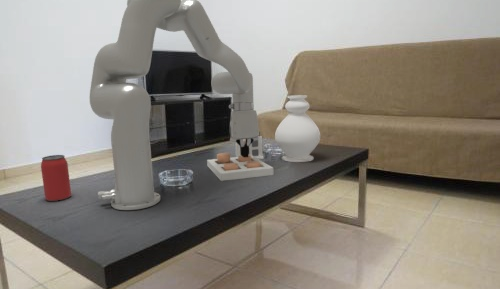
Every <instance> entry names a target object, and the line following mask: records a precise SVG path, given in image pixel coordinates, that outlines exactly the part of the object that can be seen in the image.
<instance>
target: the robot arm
mask: <svg viewBox="0 0 500 289" xmlns="http://www.w3.org/2000/svg"><path fill="white" fill-rule="evenodd" d="M121 19H122V20H121V24H120V28H119V33H118V38H117V41H116V42H113V43H109V44H105V45H103V46H102V47H101V48H100V49H99V50H98V52H97V54H96V56H95V58H94V63H93V67H92V68H93V69H92V75H91V82H90V87H89V88H90V90H89V105H90V108H91V110H92V112H93V113H94V114H95V115H97V116H98V117H99V118H101V119H105V120H113V122H112V127H111V132H110V139H111V140H110V143H111V152H112V160H113V162H112V163H113V164H112V165H113V173H114V183H115V185H114V188H111V189H110V190H99V191H97V196H98V199H102V201H107V200H110V205H111V207H112V208H113V209H115V210H118V211H119V210H120V211H137V210H141V209H146V208H150V207H153V206H156V205H157V204H158V203H159V202H160V201H161V194H159V193H158V192H155V188H154V186H155V185H154V177H153V174H154V173H153V163H152V150H151V141H150V117H151V116H150V115H151V110H152V109H151V105H152V104H151V103H152V102H151V97H150V95H149V93H148V91H147V90H146V89H145V88H144V87H143V86H142V85H140V84H137V83H133V82H127V80H130V79H132V80H134V79H141V78H144V77H145V76H146V75H148V73H149V72H150V68H151V63H152V55H153V49H154V48H153V47H154V41H155V36H156V31H157V29H160V30H163V31H167V32H173V33H174V32H181V31H183V32H184V34H185V35H186V37H187V39H188V40H189V42H190V44H191V45H192V48H193V49H194V50H195V52H196V53H195V54H197V55H198V56H199V57H201V58H203V59H205V60H208V61H210V62H212V63H215V64H217V65H219V66H221V67H222V68H224V69H225V70H226V71H221V72H218V73H216V74H214V75H213V76H212V78H211V82H210V83H211V85H210V86H211V88H212V90H213V91H214V92H215V93H217V94H219V95H232V102H231V104H229V105H228V108H229V109H232V110H231V112H230V119H229V120H230V121H229V135H230V139H229V142H231V143H237V144H239V145H240V153H241V155H242V156H243V157H248V154H249V146H250V144H251V143H252V142H253V141H255V140H258V139H259V138H258V136H259V132H260V127H259V119H258V118H259V117H258V113H257V110H255V107H254V77H253V74H252V73H251V72H250V71H249V69H248V67H247V64H246V63H245V61H244V60H243V58H242V57H241V56H240V55H239V54H238V53H237V52H235V50H233V49H232V48H231V47H229V46H228V45H227V44H226V43H224V42H223V41H222V40H221V39H220V37H219V35H218V33H217V30H216V29H215V28H214V25H213V24H212V22H211V20H210V18H209V16H208V14H207V11H206V10H205V8H204V6H203V5H202V3H201V2H200V1H199V0H127V2H126V8H125V10H124V12H123V16H122V18H121ZM243 139H245V145H244V141H243Z"/></svg>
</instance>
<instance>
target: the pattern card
mask: <svg viewBox="0 0 500 289" xmlns="http://www.w3.org/2000/svg"><path fill="white" fill-rule="evenodd" d="M258 138H259V139H258V140H255V141H253V142H252V143H251V144H250V146H249V154H248V155H249V156H254V157H256V158H257V159H259V160H264V159H265V157H264V156H263V154H262V149H263V138H262V135H260V136H258ZM243 141H244V145H245V139H243ZM234 143H235V142H234ZM234 145H235V157H238V156H242V155H241V153H240V145H239V144H237V143H235V144H234Z"/></svg>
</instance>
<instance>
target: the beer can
mask: <svg viewBox="0 0 500 289" xmlns="http://www.w3.org/2000/svg"><path fill="white" fill-rule="evenodd" d="M65 157H66V156H65V155H64V154H55V155H54V154H53V155H47V156H43V157H41V159H42V160H41V163H40V168H41V169H40V170H41V177H42V184H43V191H44V200H46V201H48V202H59V201H58V200H60V201H64V200H67V199H68V198H70V197H71V196H72V189H71V188H72V187H71V182H70V180H71V179H70V174H69V166H68V165H69V164H68V161H67V159H66V158H65Z"/></svg>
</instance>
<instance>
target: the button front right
mask: <svg viewBox="0 0 500 289" xmlns="http://www.w3.org/2000/svg"><path fill="white" fill-rule="evenodd" d="M246 166H247V168H256V167H260V162H258V161H250V162H247V163H246Z"/></svg>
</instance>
